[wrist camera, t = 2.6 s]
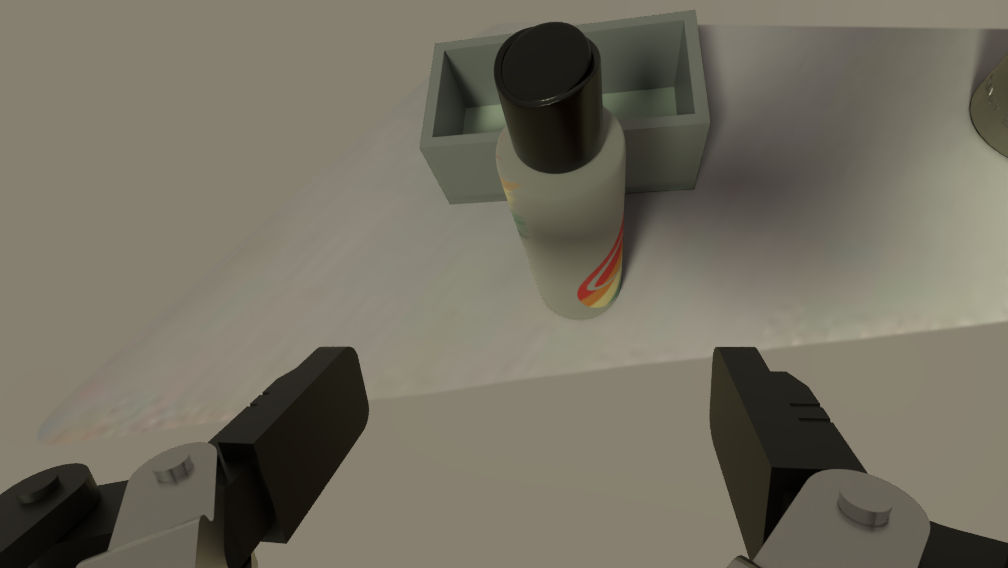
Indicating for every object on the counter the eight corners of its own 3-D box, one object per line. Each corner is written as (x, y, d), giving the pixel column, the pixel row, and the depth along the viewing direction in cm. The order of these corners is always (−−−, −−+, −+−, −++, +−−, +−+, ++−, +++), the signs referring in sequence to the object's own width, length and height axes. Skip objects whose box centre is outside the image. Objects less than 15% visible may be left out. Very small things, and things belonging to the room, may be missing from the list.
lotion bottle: (638, 280, 34) (666, 34, 16) (581, 338, 34) (545, 147, 16) (577, 233, 37) (543, -27, 19) (522, 286, 36) (432, 68, 18)
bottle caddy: (682, 87, 40) (695, 9, 34) (693, 189, 36) (710, 122, 30) (460, 109, 44) (435, 43, 38) (450, 204, 40) (419, 148, 34)
